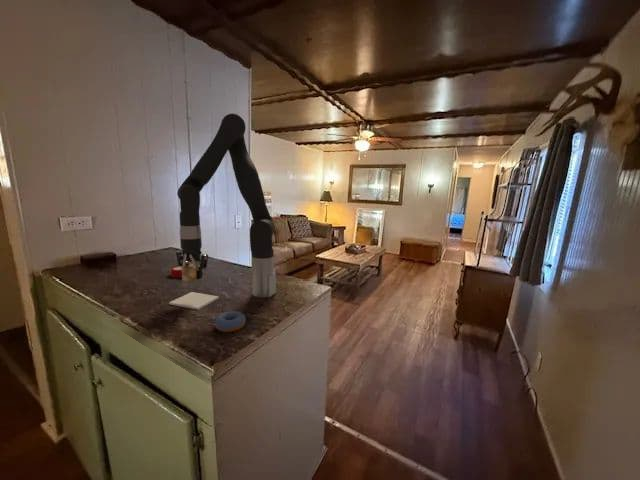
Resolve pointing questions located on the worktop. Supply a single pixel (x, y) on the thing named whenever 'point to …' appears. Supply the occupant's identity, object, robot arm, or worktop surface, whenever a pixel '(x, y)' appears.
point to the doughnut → (230, 321)
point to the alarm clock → (176, 271)
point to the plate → (194, 300)
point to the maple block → (190, 273)
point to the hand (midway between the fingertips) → (193, 277)
